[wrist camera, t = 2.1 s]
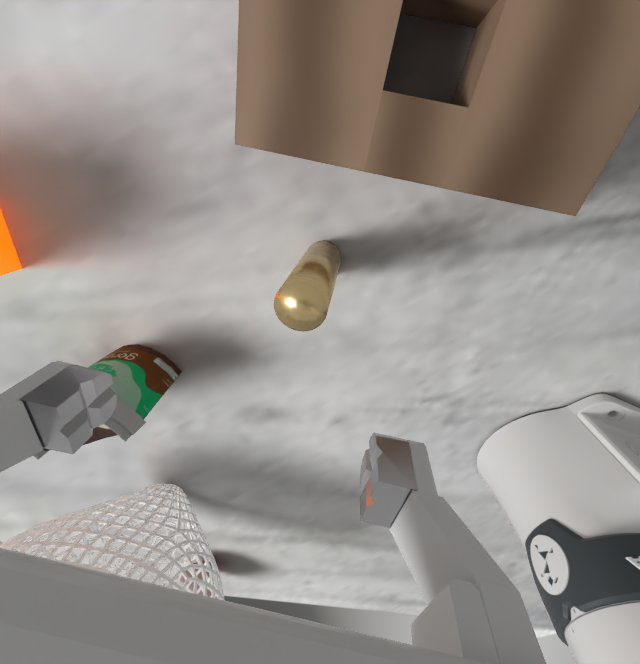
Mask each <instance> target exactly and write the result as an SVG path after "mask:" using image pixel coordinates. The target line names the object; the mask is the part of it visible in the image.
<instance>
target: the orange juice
mask: <svg viewBox="0 0 640 664" xmlns="http://www.w3.org/2000/svg"><path fill="white" fill-rule="evenodd" d="M20 269H22V267H21V264H20V261H19V258H18V256H17V253H16V250H15V247H14V245H13V242H12V239H11V236H10V234H9V231H8V228H7V225H6V223H5V220H4V217H3V214H2V212H1V209H0V275H3V274H6V273H10V272H13V271H17V270H20Z"/></svg>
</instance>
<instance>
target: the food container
mask: <svg viewBox="0 0 640 664" xmlns="http://www.w3.org/2000/svg"><path fill="white" fill-rule="evenodd" d="M88 368H91V369H95V370H99V371H102V372H106V373H109V374H111V376H112V380H113V384H112V385H111V386H110V388H111V389H112V390H113V391H114V393H115V394H116V398H117V403H116V408H115V410H114V412H113V414H112V416H111V417H110V418H109V419H108V420H107V421H106V422H105V423H104V424H103V425H100V426H98V427H96V428H93V433H92V436H91V437H90V438H89V439H88V440H87V441H86V442H85V443H84V444H83V445H85V444H88V443H91V442H94V441H97V440H100V439H103V438H107V437H111V436H115V435H119V436H120V437H121V438H122V439H123V440H124V441H126V440H127V439H128V438H129V437H130V436H131V435H133V434H134V433H135V432H136V431H138V430H139V429H140V428H141V427H142V426H143V425H144V424H145V423H146V422H145V421H144V418H145V417H146V416H147V415H148V413H149V412H150V411H151V410H152V408H153V407H154V406H155V405H156V403H157V402H158V401H159V400H160V398H161V397H162V396H163V395H164V393H165V392H166V391H167V390H168V388H169V387H170V386H171V385H172V383H173V382H174V381H175V380H176V378H177V377H178V376H179V375H180V373H181V371H180V370H179V368H178V367H177V366H176V365H175V364H174V363H173V362H172V361H171V360H169V359H168V358H167V357H166V356H165V355H163V354H161V353H159V352H157V351H155V350H153V349H151V348H148V347H144V346H140V345H127V346H123V347H121V348H119V349H117V350H116V351H114V352H112V353H111V354H109V355H107V356H106V357H104V358H102V359H101V360H99V361H98V362H96V363H94V364H93V365H91V366H89V367H88ZM43 449H44V450H42V451H41V452H39V453H37V454H35V455H33V456H34V457H35V458H37V459H39V458H41V457H42V456H43V455H44V454H45V453H47V452H48V451H49V450H50V449H45V448H43Z"/></svg>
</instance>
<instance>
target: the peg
mask: <svg viewBox="0 0 640 664" xmlns="http://www.w3.org/2000/svg"><path fill="white" fill-rule="evenodd" d="M340 264H341V255H340V252H339V250H338V248H337V247H336V246H335V245H334V244H332V243H330V242H327V241H319V242H316V243H314V244H313V245H311V246H310V248H309V249H308V250H307V252H306V253H305V254H304V256H303V257H302V259H301V260H300V261H299V263H298V264H297V266H296V267H295V268H294V270H293V271H292V273H291V274H290V275H289V277H288V278H287V280H286V281H285V282H284V284H283V285H282V287H281V288H280V289H279V291H278V292H277V294H276V296H275V300H274V309H275V312H276V315H277V316H278V318H279V320H280V321H281V322H282V323H283V324H284V325H286V326H287V327H289V328H291V329H293V330H297V331H310V330H313V329H315V328H317V327H318V326H320V325H321V324H322V323H323V321H324V320H325V318H326V315H327V311H328V308H329V304H330V300H331V297H332V293H333V289H334V286H335V282H336V278H337V275H338V271H339V267H340Z"/></svg>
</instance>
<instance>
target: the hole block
mask: <svg viewBox="0 0 640 664" xmlns="http://www.w3.org/2000/svg"><path fill="white" fill-rule="evenodd" d="M400 13H402V14H407V15H412V16H417V17H423V18H428V19H433V20H438V21H443V22H448V23H453V24H459V25H464V26H469V27H474V28H476V31H475V34H474V37H473V40H472V43H471V46H470V49H469V52H468V55H467V58H466V61H465V64H464V67H463V71H462V74H461V77H460V80H459V83H458V86H457V89H456V92H455V95H454V98H453V101H452V104H448V103H443V102H438V101H433V100H428V99H423V98H419V97H414V96H409V95H404V94H399V93H394V92H389V91H384V90H383V88H384V83H385V79H386V74H387V70H388V66H389V61H390V57H391V52H392V48H393V43H394V39H395V35H396V30H397V26H398V21H399V17H400ZM639 107H640V0H239V26H238V59H237V91H236V124H235V144H236V145H241V146H246V147H251V148H255V149H260V150H265V151H270V152H274V153H279V154H284V155H288V156H293V157H298V158H303V159H307V160H312V161H317V162H322V163H326V164H331V165H336V166H341V167H345V168H350V169H355V170H359V171H364V172H369V173H374V174H378V175H383V176H388V177H393V178H397V179H402V180H407V181H412V182H416V183H421V184H426V185H430V186H435V187H440V188H445V189H449V190H454V191H459V192H464V193H468V194H473V195H478V196H483V197H487V198H492V199H497V200H501V201H506V202H511V203H516V204H520V205H525V206H530V207H535V208H539V209H544V210H549V211H554V212H558V213H563V214H568V215H573V216H576V215H577V213H578V211H579V210H580V208H581V206H582V204H583V203H584V201H585V199H586V198H587V196H588V194H589V192H590V191H591V189H592V187H593V186H594V184H595V182H596V180H597V179H598V177H599V175H600V174H601V172H602V170H603V169H604V167H605V165H606V163H607V162H608V160H609V158H610V157H611V155H612V153H613V151H614V150H615V148H616V146H617V145H618V143H619V141H620V139H621V138H622V136H623V134H624V133H625V131H626V129H627V127H628V126H629V124H630V122H631V121H632V119H633V117H634V115H635V114H636V112H637V110H638V109H639Z"/></svg>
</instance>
